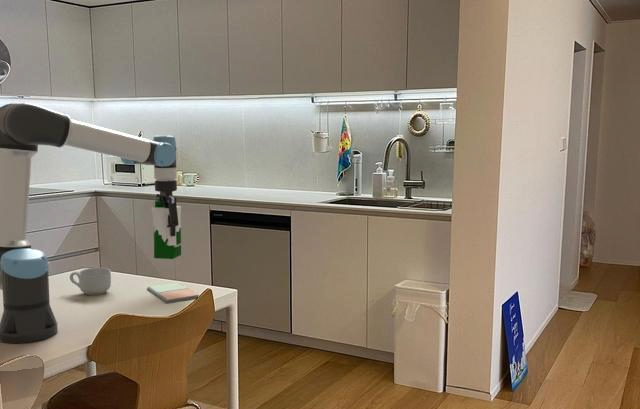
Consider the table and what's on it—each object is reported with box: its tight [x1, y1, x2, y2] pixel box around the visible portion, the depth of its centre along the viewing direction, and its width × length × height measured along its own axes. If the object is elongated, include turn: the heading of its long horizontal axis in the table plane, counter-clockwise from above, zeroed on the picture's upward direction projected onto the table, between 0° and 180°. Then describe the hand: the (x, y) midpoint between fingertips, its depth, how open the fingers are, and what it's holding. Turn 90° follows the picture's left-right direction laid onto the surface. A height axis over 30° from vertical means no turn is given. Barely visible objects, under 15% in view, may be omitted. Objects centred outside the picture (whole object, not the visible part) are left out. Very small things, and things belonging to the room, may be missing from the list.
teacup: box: [69, 267, 112, 296], centre depth 212 cm, size 14×11×8 cm
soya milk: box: [150, 199, 182, 260], centre depth 213 cm, size 9×9×20 cm
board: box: [146, 282, 200, 304], centre depth 212 cm, size 12×20×1 cm, turn 34°
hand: (167, 242), depth 214 cm, fingers closed on soya milk, 9 cm apart
